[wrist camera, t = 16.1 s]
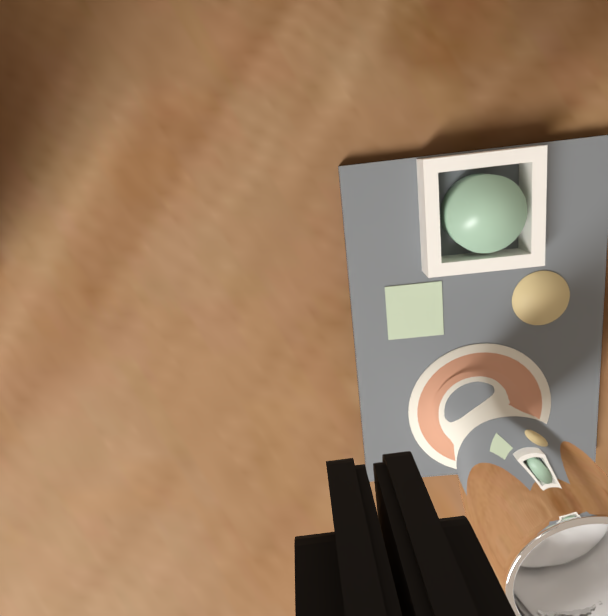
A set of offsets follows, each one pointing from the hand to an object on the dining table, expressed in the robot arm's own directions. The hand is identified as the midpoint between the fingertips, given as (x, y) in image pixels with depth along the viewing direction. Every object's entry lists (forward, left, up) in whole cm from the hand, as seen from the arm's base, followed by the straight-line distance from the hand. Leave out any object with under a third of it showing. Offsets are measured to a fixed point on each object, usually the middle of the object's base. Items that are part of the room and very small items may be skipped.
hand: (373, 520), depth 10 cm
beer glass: (+9, -11, -24) cm, 27 cm away
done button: (+9, +3, -23) cm, 25 cm away
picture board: (+9, -5, -24) cm, 26 cm away
